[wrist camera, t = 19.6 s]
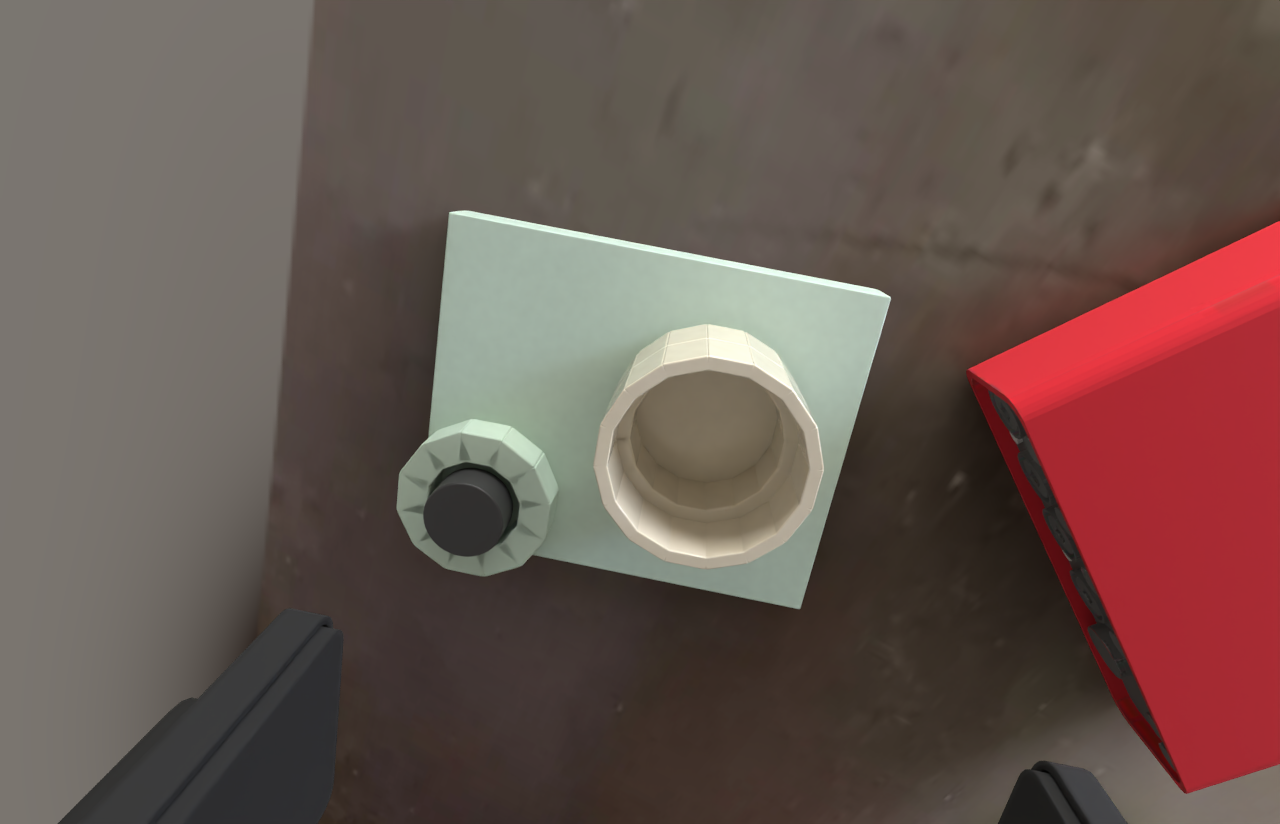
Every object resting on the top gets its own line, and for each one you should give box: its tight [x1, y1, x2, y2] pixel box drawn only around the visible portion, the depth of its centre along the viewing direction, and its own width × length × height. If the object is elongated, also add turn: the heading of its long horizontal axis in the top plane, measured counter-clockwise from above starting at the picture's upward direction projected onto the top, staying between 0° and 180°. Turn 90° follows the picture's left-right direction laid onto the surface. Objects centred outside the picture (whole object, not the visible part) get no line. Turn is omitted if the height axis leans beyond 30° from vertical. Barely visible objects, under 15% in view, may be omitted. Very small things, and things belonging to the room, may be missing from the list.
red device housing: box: [966, 221, 1280, 794], centre depth 26 cm, size 18×14×5 cm
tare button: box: [423, 468, 513, 557], centre depth 27 cm, size 3×3×2 cm
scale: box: [396, 210, 891, 609], centre depth 28 cm, size 16×14×4 cm
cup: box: [593, 324, 824, 570], centre depth 24 cm, size 7×7×6 cm
